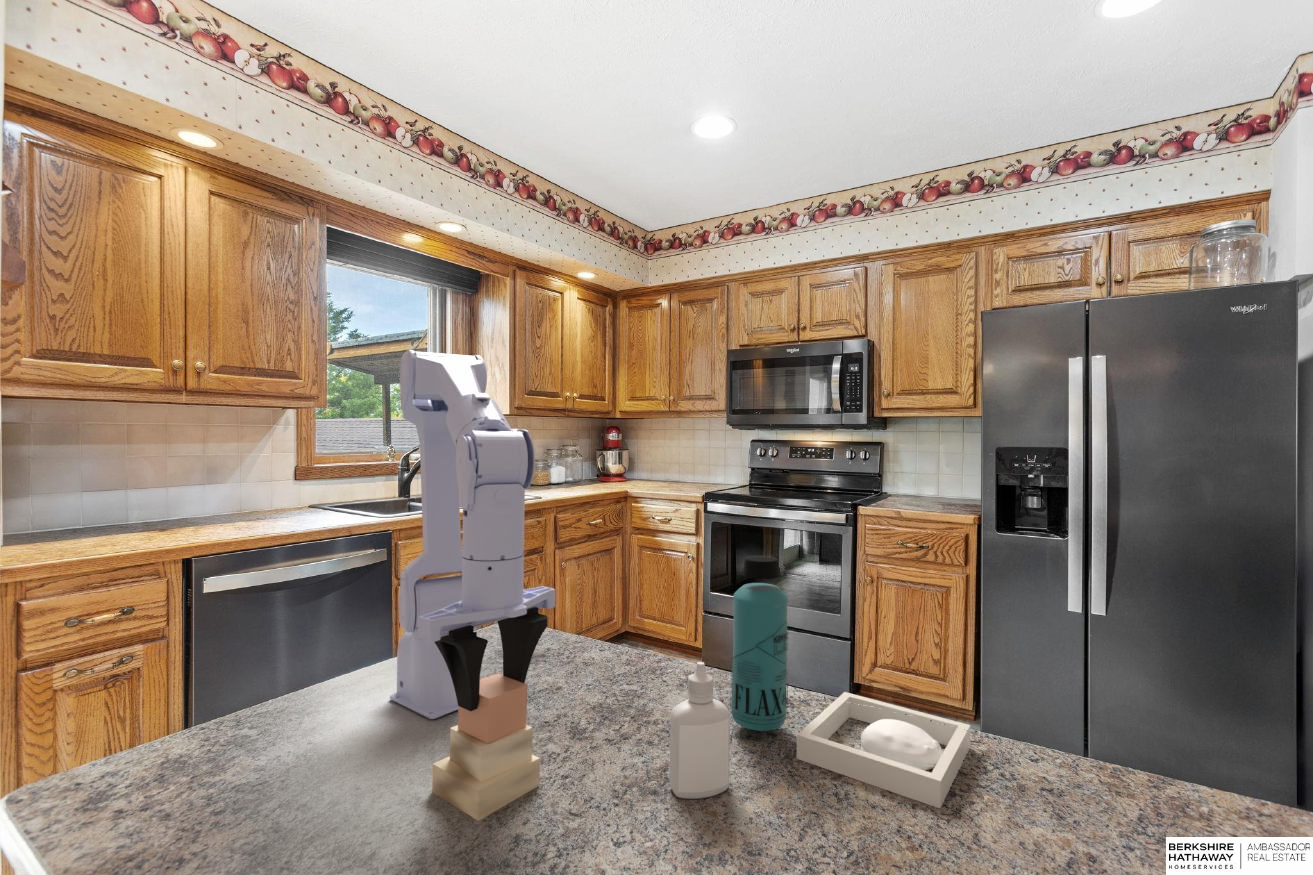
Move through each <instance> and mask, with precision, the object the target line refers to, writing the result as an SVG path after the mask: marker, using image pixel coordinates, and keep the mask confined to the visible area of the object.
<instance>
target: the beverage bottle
mask: <svg viewBox="0 0 1313 875" xmlns="http://www.w3.org/2000/svg"><path fill="white" fill-rule="evenodd" d="M779 566H780V565H779V559H778V558H776V557H774V556H770V555H750V556H749V555H748V556H746V557H744V559H743V569H742V575H743V576H744V577H746V578H750V579H758V580H772V579H777V578H779V577H780V569H779V568H780V567H779ZM732 597H733V631H732V632H733V634H732V635H733V640H732V641H733V643H732V644H733V646H732V648H733V649H732V650H733V651H732V652H733V653H732V658H731V663H732V666H730V668H731V669H730V670H731V673H730V674H731V683H730V689H731V690H730V695H729V697H730V698H729V699H730V702H731V704H730V708H729V709H731V715H732V720H733V721H734V723H736V724H737V725H739V726H741V727H743V728H744V729H748V730H754V731H774V730H777V729H779V728H781V727H782V726H784V724H785V722H786V719H787V715H788V711H787V710H788V705H787V704H788V699H789V698H788V695H789V694H788V692H787V689H788V685H789V684H788V683H789V682H788V678H787V677H788V667H787V666H788V665H787V664H788V663H787V661H788V658H789V657H788V650H789V643H788V640H789V637H788V634H789V631H788V629H789V623H788V602H789V597H788V596H787V593H785V592H784V591H783V590H782V589H781V588H780V587H779V586H777V585H776V584H771V583H765V582H751V583H750V582H749V583H746V584H743V585H742V586H741V587H739V588H738V589H737V590H736V591H735V592H734V593H733V596H732Z"/></svg>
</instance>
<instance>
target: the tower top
mask: <svg viewBox="0 0 1313 875" xmlns="http://www.w3.org/2000/svg"><path fill="white" fill-rule="evenodd" d="M449 729H450V730H449V734H450V735H449V756H450V760H451V761H453V762H454V763H455V764H457V765H458V766H460V767H461V768H462V769H464V770H465V771H467V772H468V773H469V774H471V775H472V776H473V777H475V778H476V779H478V780H479V781H480V782H481V781H484V780H486V779H488V778H490V777H493V776H495V775H497V774H499V773H502V772H504V771H506V770H508V769H511V768H513V767H515V766H517V765H520V764H522V763H524V762H526V761H529V760H531V759H532V754H533V727H532V726H530V725H528V724H527V723H526V727H524V728H522V729H520V730H518V731H515V732H513V733H511V734H509V735H506V736H504V737H502V738H499V739H497V740H495V741H493V742H490V743H488V744H487V743H485V742H483V741H481V740H479V739H477V738H475V737H473V736H471V735H469V734H467V733H465V732H463V731H461V730H459V729H458V724H457V725H455V726H452V727H450V728H449Z"/></svg>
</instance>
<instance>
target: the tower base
mask: <svg viewBox="0 0 1313 875" xmlns="http://www.w3.org/2000/svg"><path fill="white" fill-rule="evenodd" d="M540 768H541V759H540V757H539V756H536V754H535V755H534V754H533V753H532V759H531V760H529V761H526V762H524V763H522V764H520V765H517V766H515V767H513V768H511V769H508V770H506V771H504V772H502V773H499V774H497V775H495V776H493V777H490V778H488V779H486V780H484V781H481V782H480V781H479V780H478V779H476V778H475V777H473V776H472V775H471V774H469V773H468V772H467V771H465V770H464V769H462V768H461V767H460V766H458V765H457V764H455V763H454V762H453V761H451V760H450V755H449V756H446V757H445V758H442V759H440V760H438V761H436V762H434V763H432V793H433V794H435V795H437V796H438V797H440V798H441V799H443V800H445V801H446V802H448V803H449V804H450V805H452V806H454V807H455V808H457V809H459V810H460V811H462V812H463V813H465V814H467V815H468V816H469V817H471V818H473V819H475V820H476V821H477V822H478V821H481V820H482V819H484V818H486V817H488V816H489V815H491V814H493V813H495V812H496V811H498V810H499V809H501V808H503V807H505V806H507V805H508V804H510V803H512V802H514V801H515V800H517V799H519V798H520V797H522V796H524V795H525V794H527V793H528V792H529V793H530V792H531V791H532V790H534V789H536V788H537V787H539V786H540V779H541V778H540V777H541V776H540Z"/></svg>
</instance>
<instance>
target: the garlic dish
mask: <svg viewBox="0 0 1313 875" xmlns="http://www.w3.org/2000/svg"><path fill="white" fill-rule="evenodd" d="M845 701H847V702H851V703H856V704H851V703H850V704H849V703H846V702H845ZM857 704H862V705H857ZM863 705H868V706H863ZM869 706H874V707H875V708H874V707H869ZM879 708H881V709H879ZM894 712H897V713H894ZM905 714H907V715H905ZM909 715H913V716H909ZM918 717H920V718H918ZM849 719H854V720H858V721H861V722H864V723H868V724H872V723H874V722H876V721H878V720H881V719H894V720H899V721H903V722H907V723H909V724H912V725H914V726H917V727H919V728H921V729H922V730H923V731H925V732H926V733H927V734H928V735H929V736H931V737H932V738H933V739H935V740H936V741H937V742H938V743H939V745H944V746H945V749H944V750H943V751H942V755H941V757H940V759H939V760H938V762H937V764H936V766H935V767H934V768H932V769H933V770H932V771H931V772H930V771H928V770H926V771H924V770H921V769H918V768H915V767H912V766H909V765H905V764H902V763H899V762H896V761H893V760H890V759H887V758H883V757H880V756H877V755H874V754H871V753H868V752H865V751H861V749H857V748H855V747H851V746H848V745H845V744H842V743H839V742H835V741H833V740H829V739H830V737H832V736H833V735H834V734H835V732H837V731H838V729H839V728H841V726H843V724H844V723H845V722H846V721H848V720H849ZM925 719H926V720H925ZM929 720H932V721H933V722H930V721H929ZM937 723H940V724H937ZM941 724H945V725H941ZM946 725H947V726H946ZM949 726H954V727H949ZM964 729H965V730H964ZM966 730H968V731H966ZM970 749H971V725H970V724H968V723H964V722H961V721H957V720H952V719H949V718H946V717H945V718H944V717H941V716H938V715H933V714H929V713H927V712H923V711H922V712H921V711H918V710H914V709H911V708H907V707H903V706H900V705H896V704H892V703H888V702H884V701H881V700H876V699H873V698H869V697H865V696H862V695H858V694H853V693H850V692H847V691H843V693H841V694H840V695H839V696H838V697H837V698H836V699H834V701H833V702H832V703H830V704H829V705H828V706H827V707H826V708H825V709H824V710H823V711H822V712H821V713H819V714H818V715H817V716H816V717H815V718H814V719H813V720H811V721H810V723H808V724H807V725H806V726H804V728H803V729H801V730H800V731H799V732H798V733H797V734H796V760H800V761H802V762H805V763H808V764H811V765H814V766H817V767H819V768H823V769H825V770H827V771H831V772H834V773H837V774H839V775H842V776H845V777H848V778H850V779H851V778H852V779H853V780H857V781H859V782H862V783H866V784H868V785H871V786H875V787H877V788H880V789H883V790H886V791H888V792H892V793H894V794H897V795H899V796H903V797H906V798H909V799H910V800H911V799H912V800H914V801H917V802H920V803H923V804H926V805H929V806H931V807H934V808H938V809H941V807H942V806H943V804H944V801H945V800H946V798H947V795H948V794H949V791H950V790H951V788H950V787H952V786H953V784H952V783H954V782H955V780H956V777H957V775H958V773H959V771H960V769H961V768H962V765H963V763H964V761H965V759H964V758H966V757H967V755H968V753H969V751H970ZM966 754H967V755H966ZM965 756H966V757H965ZM963 760H964V761H963ZM958 770H959V771H958ZM954 779H955V780H954ZM953 781H954V782H953Z"/></svg>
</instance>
